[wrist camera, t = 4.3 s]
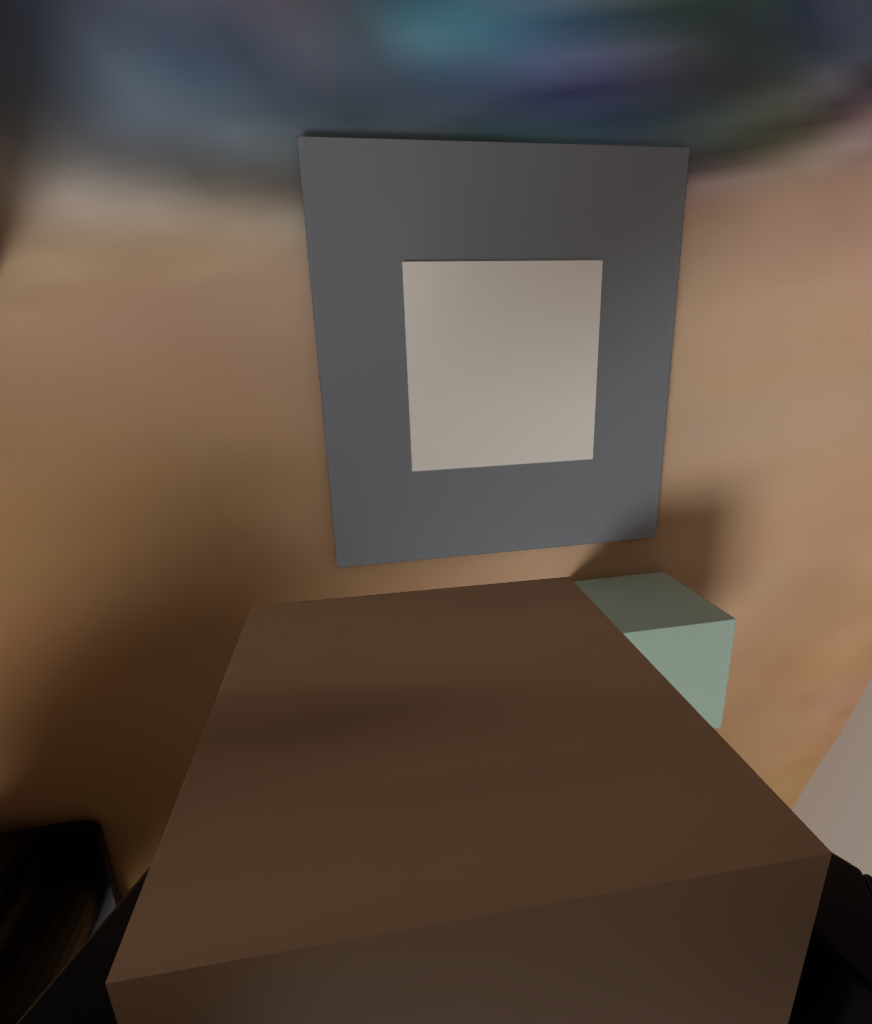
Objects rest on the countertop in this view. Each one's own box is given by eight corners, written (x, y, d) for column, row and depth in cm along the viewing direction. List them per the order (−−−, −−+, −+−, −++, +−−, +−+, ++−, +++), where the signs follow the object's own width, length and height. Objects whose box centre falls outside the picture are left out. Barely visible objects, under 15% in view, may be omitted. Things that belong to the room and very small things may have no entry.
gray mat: (651, 535, 22) (657, 538, 22) (337, 564, 20) (337, 568, 20) (684, 150, 18) (691, 146, 18) (297, 140, 16) (296, 135, 16)
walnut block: (556, 816, 10) (735, 1226, 5) (288, 858, 9) (225, 1368, 5) (568, 577, 9) (831, 853, 4) (250, 606, 8) (106, 984, 3)
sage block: (654, 662, 24) (721, 726, 20) (560, 674, 24) (609, 744, 19) (662, 570, 23) (736, 619, 19) (564, 581, 22) (617, 634, 18)
